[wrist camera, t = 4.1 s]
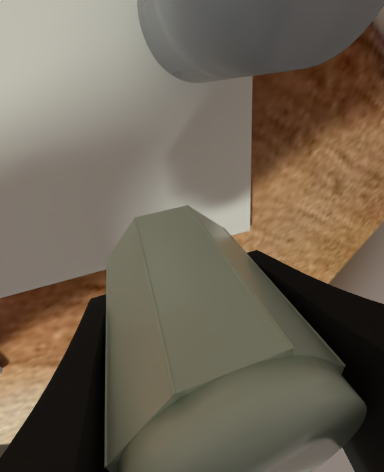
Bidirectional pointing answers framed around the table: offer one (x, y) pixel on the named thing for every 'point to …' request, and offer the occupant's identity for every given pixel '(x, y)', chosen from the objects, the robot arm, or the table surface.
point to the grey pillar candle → (249, 34)
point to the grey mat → (105, 139)
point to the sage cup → (213, 359)
